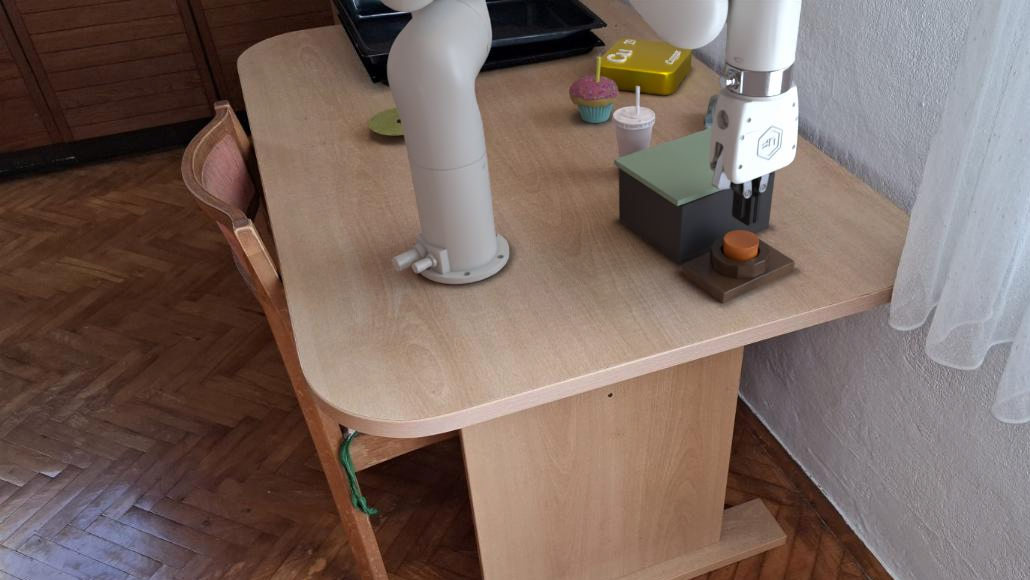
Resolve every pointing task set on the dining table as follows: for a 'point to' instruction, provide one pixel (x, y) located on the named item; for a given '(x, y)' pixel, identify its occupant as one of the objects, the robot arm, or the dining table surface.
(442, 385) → the dining table surface
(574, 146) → the dining table surface
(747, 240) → the button
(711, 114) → the packaged food
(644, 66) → the element tile
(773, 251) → the switch block
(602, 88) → the cupcake
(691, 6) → the robot arm
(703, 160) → the lid
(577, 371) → the dining table surface
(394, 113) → the mat
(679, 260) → the dark grey hollow box
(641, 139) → the smoothie
